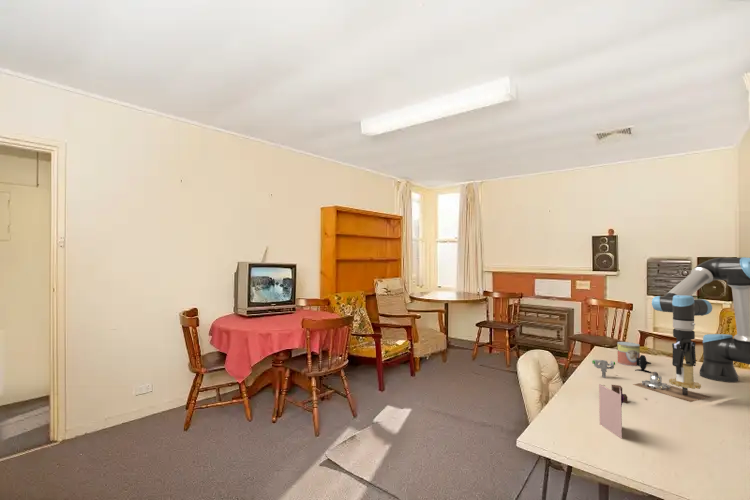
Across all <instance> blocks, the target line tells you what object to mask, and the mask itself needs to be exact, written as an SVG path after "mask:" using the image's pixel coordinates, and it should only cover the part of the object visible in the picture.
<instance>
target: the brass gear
mask: <svg viewBox="0 0 750 500" xmlns="http://www.w3.org/2000/svg"><path fill="white" fill-rule="evenodd" d="M683 368H684V383H683V382H679V381H676V377H674V378H672V377H671V378H669V380H668V383H669V384H670V385H671V386H673V385H675V387H678V388H680V387H681V388H682V387H684V388H688V389H692V390H696V389H698V390H700V389H701V388H702V384H701V383H699V382H697V381H694V366H693V365H690V364H686V362H683Z"/></svg>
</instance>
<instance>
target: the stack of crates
mask: <svg viewBox="0 0 750 500" xmlns="http://www.w3.org/2000/svg"><path fill="white" fill-rule="evenodd" d="M611 390H612V391H614V392H616V393H618V394H620V391H621V392H622V395H623V397H624V400H623V402H622V404H628V403H629V402H628V396H627V394H626V393H623V387H622V386H621V385H619V384H618V385H617V384H611Z"/></svg>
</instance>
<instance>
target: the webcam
mask: <svg viewBox="0 0 750 500" xmlns="http://www.w3.org/2000/svg"><path fill="white" fill-rule="evenodd" d="M636 362H637V365H639V366H638V367H640V369H634V372H636V371H639V372H643V373H648V374H652V372H651V371H650V370H646V368H647V366H648V365H651V364H652V362H650V361H647V358H646V356H645V355H643V354H640V358H636Z"/></svg>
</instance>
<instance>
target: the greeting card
mask: <svg viewBox="0 0 750 500" xmlns="http://www.w3.org/2000/svg"><path fill="white" fill-rule="evenodd" d="M598 392H599V393H598V394H599V395H598V396H599V397H598V399H599V400H598V401H599V402H598V403H599V404H598V405H599V408H598V409H599V410H598V411H599V425H600V426H601V425H602V427H603V428H604V429H606V430H608V431H609V432H611V433H612V434H613V435H615V436H616V437H619V439H623V437H622V436H623V428H622V427H623V426H622V425H623V424H622V423H623V422H622V421H623V419H622V418H623V417H622V416H623V415H622V413H623V412H622V405H623V403H622V402H623V400H624V397H623V395H622V394H623V391H622V392H621V391H620V394H618V393H616V392H614V391H612V389H610V388H607V387H606V386H604V385H603V384H600V383H599V384H598Z"/></svg>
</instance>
